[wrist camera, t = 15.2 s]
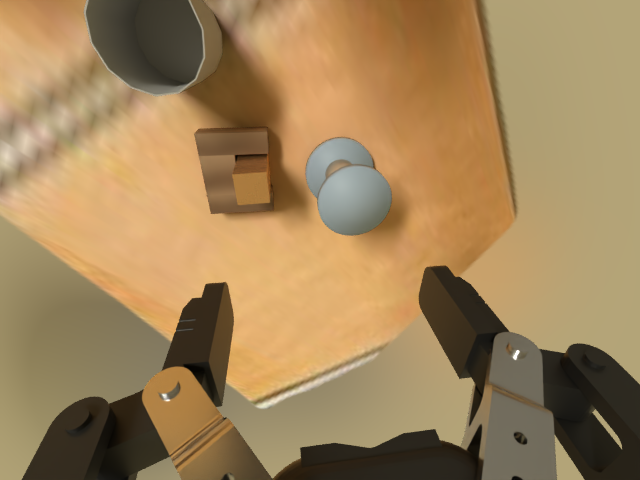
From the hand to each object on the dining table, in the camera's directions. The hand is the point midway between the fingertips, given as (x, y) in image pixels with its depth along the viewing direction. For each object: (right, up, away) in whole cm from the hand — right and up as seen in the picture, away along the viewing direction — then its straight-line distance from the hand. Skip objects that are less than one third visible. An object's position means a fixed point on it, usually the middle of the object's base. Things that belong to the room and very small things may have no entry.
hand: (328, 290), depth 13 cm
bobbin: (+2, +11, +29) cm, 31 cm away
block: (-9, +12, +27) cm, 31 cm away
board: (-11, +11, +27) cm, 31 cm away
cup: (-15, +23, +20) cm, 33 cm away
